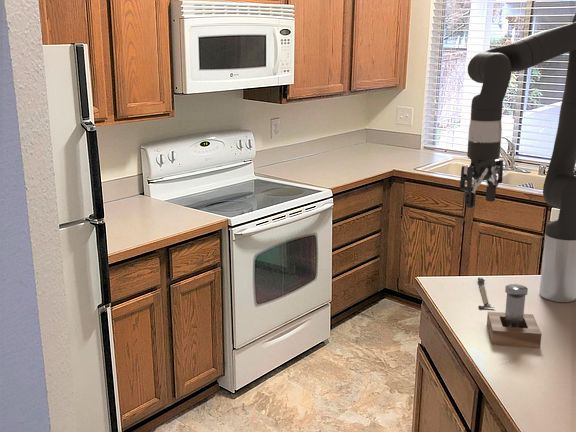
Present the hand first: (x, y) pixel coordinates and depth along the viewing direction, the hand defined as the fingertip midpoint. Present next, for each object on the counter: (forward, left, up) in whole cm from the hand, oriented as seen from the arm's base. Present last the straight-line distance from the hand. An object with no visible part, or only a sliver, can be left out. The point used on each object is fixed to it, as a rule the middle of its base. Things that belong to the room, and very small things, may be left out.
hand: (480, 204), depth 151 cm
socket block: (+6, +15, -28) cm, 32 cm away
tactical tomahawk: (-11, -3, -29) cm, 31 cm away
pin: (+6, +15, -28) cm, 32 cm away
